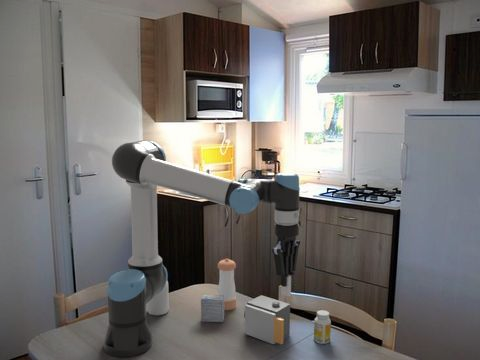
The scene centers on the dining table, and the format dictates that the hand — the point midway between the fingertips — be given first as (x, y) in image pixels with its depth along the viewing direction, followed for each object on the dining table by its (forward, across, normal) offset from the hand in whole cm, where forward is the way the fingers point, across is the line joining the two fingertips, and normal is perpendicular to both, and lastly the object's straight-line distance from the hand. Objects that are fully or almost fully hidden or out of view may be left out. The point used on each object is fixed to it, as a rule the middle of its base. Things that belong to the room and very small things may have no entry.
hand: (285, 294), depth 151 cm
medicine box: (+17, -1, +30) cm, 35 cm away
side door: (+16, -3, +7) cm, 18 cm away
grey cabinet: (+17, +2, +8) cm, 19 cm away
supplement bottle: (+17, +10, -8) cm, 21 cm away
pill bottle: (+17, -9, +51) cm, 54 cm away
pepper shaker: (+17, +11, +34) cm, 39 cm away
